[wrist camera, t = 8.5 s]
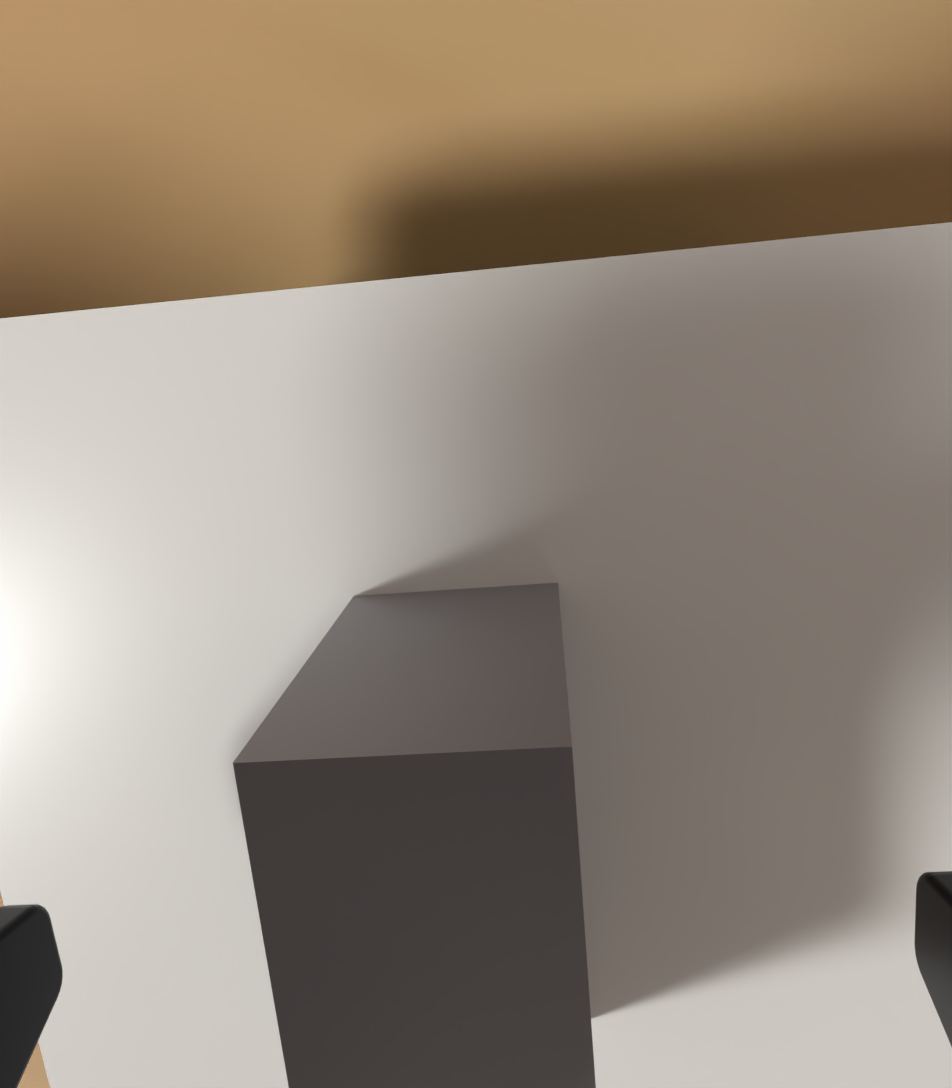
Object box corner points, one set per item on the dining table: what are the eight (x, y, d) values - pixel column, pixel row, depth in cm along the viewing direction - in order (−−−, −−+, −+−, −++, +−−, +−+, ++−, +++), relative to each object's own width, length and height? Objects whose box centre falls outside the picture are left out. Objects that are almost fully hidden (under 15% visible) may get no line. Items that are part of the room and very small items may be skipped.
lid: (967, 1171, 12) (1238, 1694, 7) (111, 1173, 13) (-121, 1626, 9) (1021, 222, 9) (1534, 95, 4) (-91, 333, 10) (-614, 326, 6)
